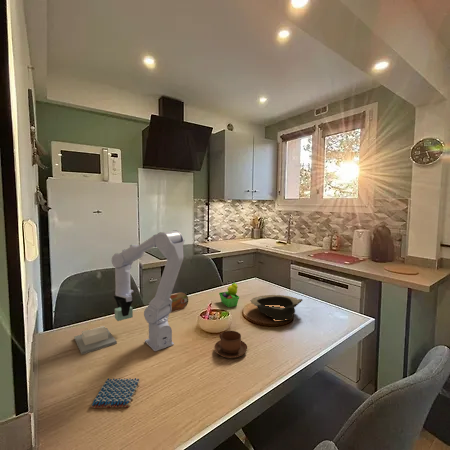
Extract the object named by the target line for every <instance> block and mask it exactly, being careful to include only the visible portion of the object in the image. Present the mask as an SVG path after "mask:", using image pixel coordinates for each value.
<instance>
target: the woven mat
mask: <svg viewBox="0 0 450 450" xmlns="http://www.w3.org/2000/svg"><path fill="white" fill-rule="evenodd" d="M138 387H140V379H139V378H132V379H131V378H120V377H119V378H116V379H115V378H111V379H110V378H109V377H108V378H107V380H105V381H104V384H103V385H102V386H101V387H100V390H99V392H98V393H97V395H96V397H95V398H94V399H93V401H92V404H91V405H90V407H91V408H92V409H94V408H95V409H97V408H98V409H99V408H101V409H103V408H104V409H105V408H130V407H131V406H132V401H133V400H134V399H135V398H134V396H135V395H137V391H138Z"/></svg>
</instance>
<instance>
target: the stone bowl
mask: <svg viewBox="0 0 450 450" xmlns="http://www.w3.org/2000/svg"><path fill="white" fill-rule="evenodd" d="M302 302H303V299H302V298H299V299H298V298H297V297H293V296H290V295H283V294H269V295H259V296H255V297H252V298H251V300H250V303H251V304H253V305H254V306H255V307H257V310H258V311H259V312H260V313H263V315H264V314H265V315H266V316H267V317H271V319H272V318H273V319H275V320H285V319H290V318H291V319H293V316H294V315H295V313H296V309H295V308H296V307H297V306H298V305H299V304H300V303H302ZM265 305H280V306H284V307H285V308H280V307H274V306H272V307H269V306H265ZM291 319H290V320H291Z"/></svg>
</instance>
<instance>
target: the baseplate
mask: <svg viewBox="0 0 450 450" xmlns="http://www.w3.org/2000/svg"><path fill="white" fill-rule="evenodd" d="M73 337H74V342H75V343H76V345H77V348H78V350H79V352H80V355H81V356H82V355H84V354H85V355H86V354H88V353H93V352H94V351H98V350H101V349H104V348H107V347H110V346H114V345H117V340H116V339H115V337H114V336H113V334H112V333H111V332H110V331H109V329H108V328H107V327H106V326H105V325H101V326H98V327H94V328H91V329H87V330H86V329H85V330H82V331H81V334H79V335H75V336H73Z"/></svg>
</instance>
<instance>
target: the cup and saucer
mask: <svg viewBox="0 0 450 450" xmlns="http://www.w3.org/2000/svg"><path fill="white" fill-rule="evenodd" d="M218 337H219V339H220V340H219V341H217V342H215V344H214V347H213V348H214V351H215V352H216V354H218V355H219V356H222V357H224V358H228V359H236V358H239V357H242V356H243V355H245V354H246V353H247V351H248V346H247V345H248V344H246V343H245V342H244V341H243V340H242V335H241V333H239V332H238V331H235V330H227V331H226V330H225V331H223V332H220V333H219V336H218Z"/></svg>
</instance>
